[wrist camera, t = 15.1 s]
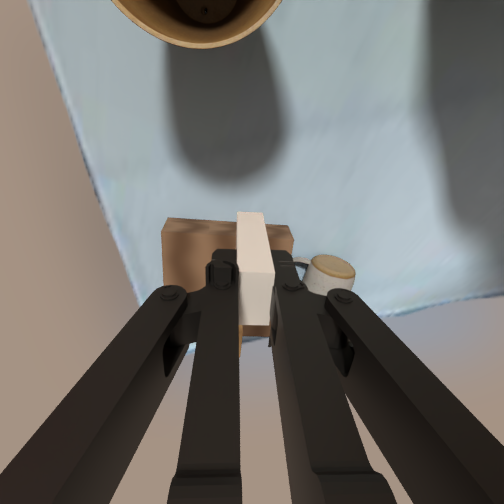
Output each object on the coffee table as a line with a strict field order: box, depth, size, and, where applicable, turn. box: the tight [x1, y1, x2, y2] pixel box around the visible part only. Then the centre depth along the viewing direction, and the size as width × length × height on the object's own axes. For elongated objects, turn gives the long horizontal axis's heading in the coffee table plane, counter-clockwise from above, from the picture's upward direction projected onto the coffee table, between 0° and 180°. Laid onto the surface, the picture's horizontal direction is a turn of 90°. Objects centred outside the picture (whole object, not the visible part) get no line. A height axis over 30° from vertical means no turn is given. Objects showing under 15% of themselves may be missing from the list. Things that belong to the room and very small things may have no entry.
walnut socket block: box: [161, 218, 294, 337], centre depth 47 cm, size 18×18×5 cm
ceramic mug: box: [293, 255, 355, 296], centre depth 47 cm, size 11×8×8 cm
